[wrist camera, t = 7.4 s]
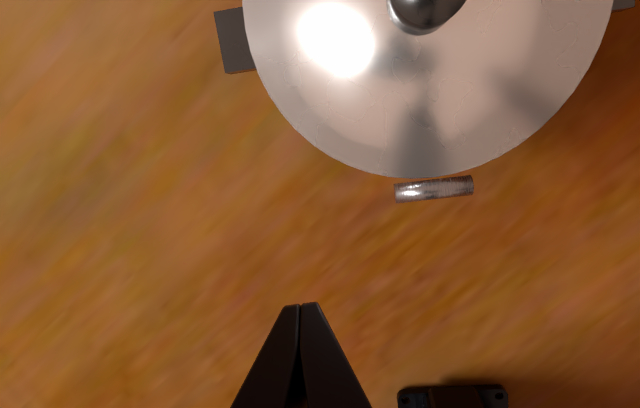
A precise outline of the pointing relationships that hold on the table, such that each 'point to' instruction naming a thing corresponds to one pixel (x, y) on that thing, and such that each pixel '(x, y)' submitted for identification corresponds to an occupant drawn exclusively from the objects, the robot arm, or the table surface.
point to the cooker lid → (422, 78)
